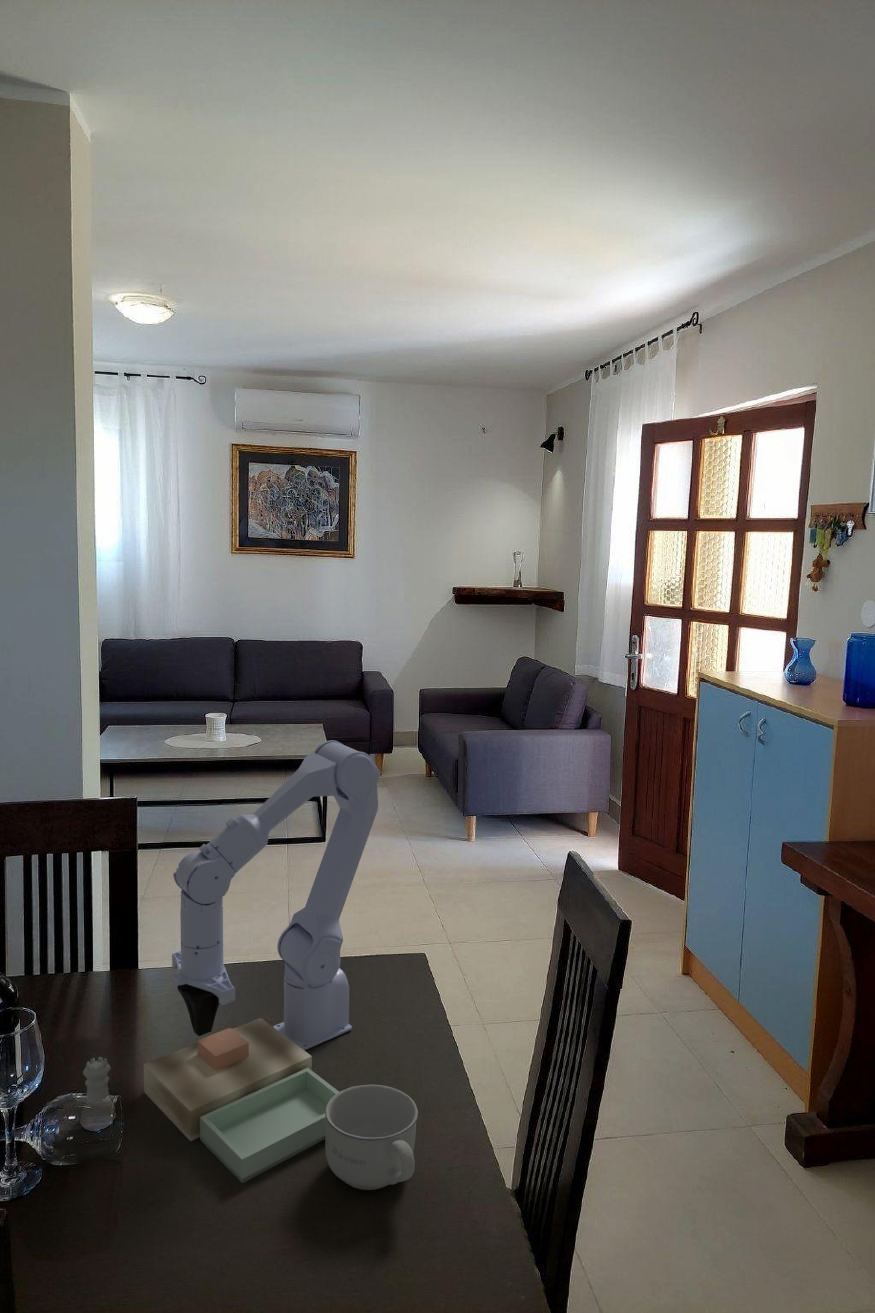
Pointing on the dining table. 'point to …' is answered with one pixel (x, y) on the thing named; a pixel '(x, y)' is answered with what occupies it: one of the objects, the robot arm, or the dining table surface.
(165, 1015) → the dining table surface
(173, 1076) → the beige banded block
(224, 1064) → the tile
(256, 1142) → the box
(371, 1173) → the teacup
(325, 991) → the robot arm
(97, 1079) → the rook chess piece
